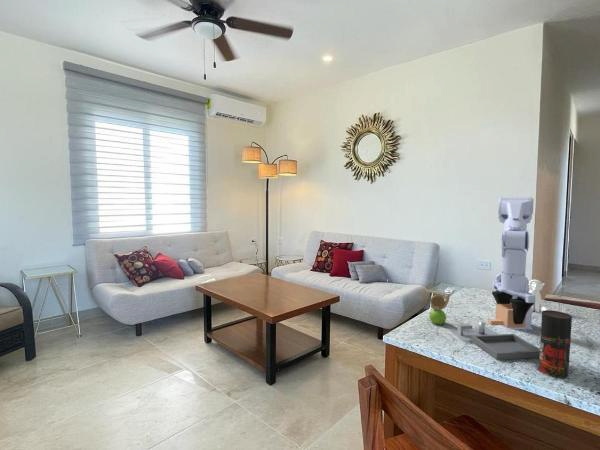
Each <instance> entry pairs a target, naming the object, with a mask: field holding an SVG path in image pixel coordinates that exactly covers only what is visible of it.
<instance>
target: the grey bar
mask: <svg viewBox="0 0 600 450" xmlns="http://www.w3.org/2000/svg"><path fill="white" fill-rule="evenodd" d="M472 328H473V325H471V324H470V323H458V324H457V329H458V330H457V333H458V334H459V335H460V336H462V335H463V329H472ZM478 328H479V332H478V333H479V334H482V335H484V334H485V328H486V322H484V321H479V322H478Z"/></svg>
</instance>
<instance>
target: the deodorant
mask: <svg viewBox="0 0 600 450" xmlns="http://www.w3.org/2000/svg"><path fill="white" fill-rule="evenodd" d="M540 322H541V325H540V342H539V344H540V345H539V348H540V357H539V358H538V359H539V360H538V361H539V362H538V371H540V372H541V373H542V374H543V375H546V376H549V377H551V378H555V379H567V378H568V377H569V369H570V367H569V366H570V351H571V337H572V324H573V323H572V322H573V316H572V315H571V314H569V313H567V312H562V311H557V310H552V309H548V310H545V311H542V313H541V321H540Z"/></svg>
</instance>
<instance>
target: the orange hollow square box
mask: <svg viewBox="0 0 600 450" xmlns="http://www.w3.org/2000/svg"><path fill="white" fill-rule="evenodd" d="M525 322H526V316H525V319H524V321H523V324H514V320H513V308H512V304H497V303H496V305H495V318H494V319H488V320H487V324H488V325H489V326H499V325H503V326H505V327H507V328H516V327H525Z"/></svg>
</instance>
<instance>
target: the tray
mask: <svg viewBox="0 0 600 450" xmlns="http://www.w3.org/2000/svg"><path fill="white" fill-rule="evenodd" d="M470 342H471V343H472V344H473V345H475V346H477V348H479V349H481V350H482V351H484V352H485V353H486V354H488V355H489V357H492V358H493V359H494V360H496V361H501V360H502V361H503V360H504V361H505V360H522V359H527V360H528V359H539V357H540V347H538V346H536V345H535V344H532V343H530V342H529V341H527V340H525V339H523V338H522V337H520V336H518V335H517V334H514V333H504V334H503V333H502V334H500V333H497V335H473V336H471V340H470Z"/></svg>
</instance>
